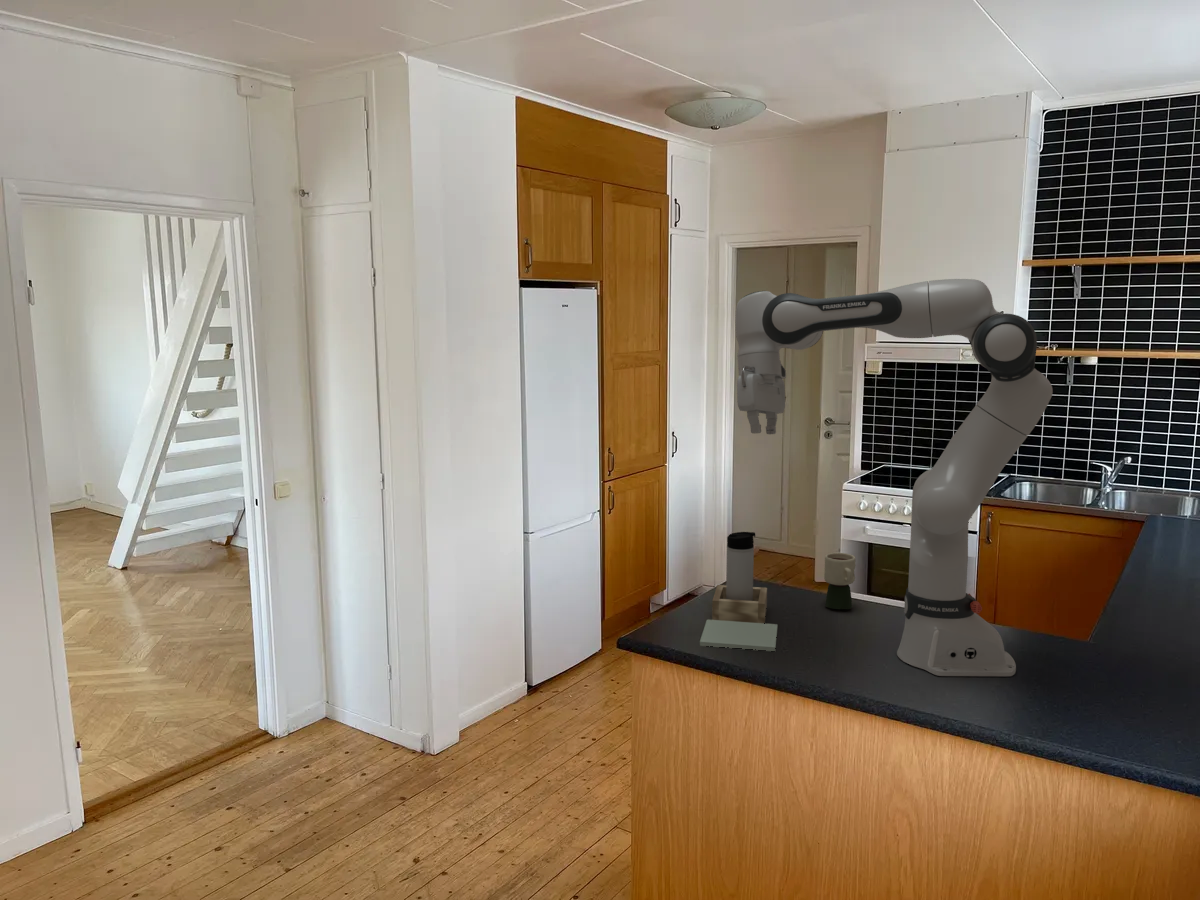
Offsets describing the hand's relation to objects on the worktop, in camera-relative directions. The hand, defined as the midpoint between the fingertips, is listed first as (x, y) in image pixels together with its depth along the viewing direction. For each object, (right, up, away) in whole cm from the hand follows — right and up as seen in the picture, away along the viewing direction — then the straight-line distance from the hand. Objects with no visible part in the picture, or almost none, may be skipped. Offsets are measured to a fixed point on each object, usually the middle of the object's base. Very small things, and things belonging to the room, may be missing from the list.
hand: (763, 433), depth 184 cm
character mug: (+23, -42, +27) cm, 55 cm away
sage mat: (-4, -45, +9) cm, 46 cm away
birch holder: (-1, -43, +23) cm, 48 cm away
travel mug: (-1, -43, +23) cm, 49 cm away
